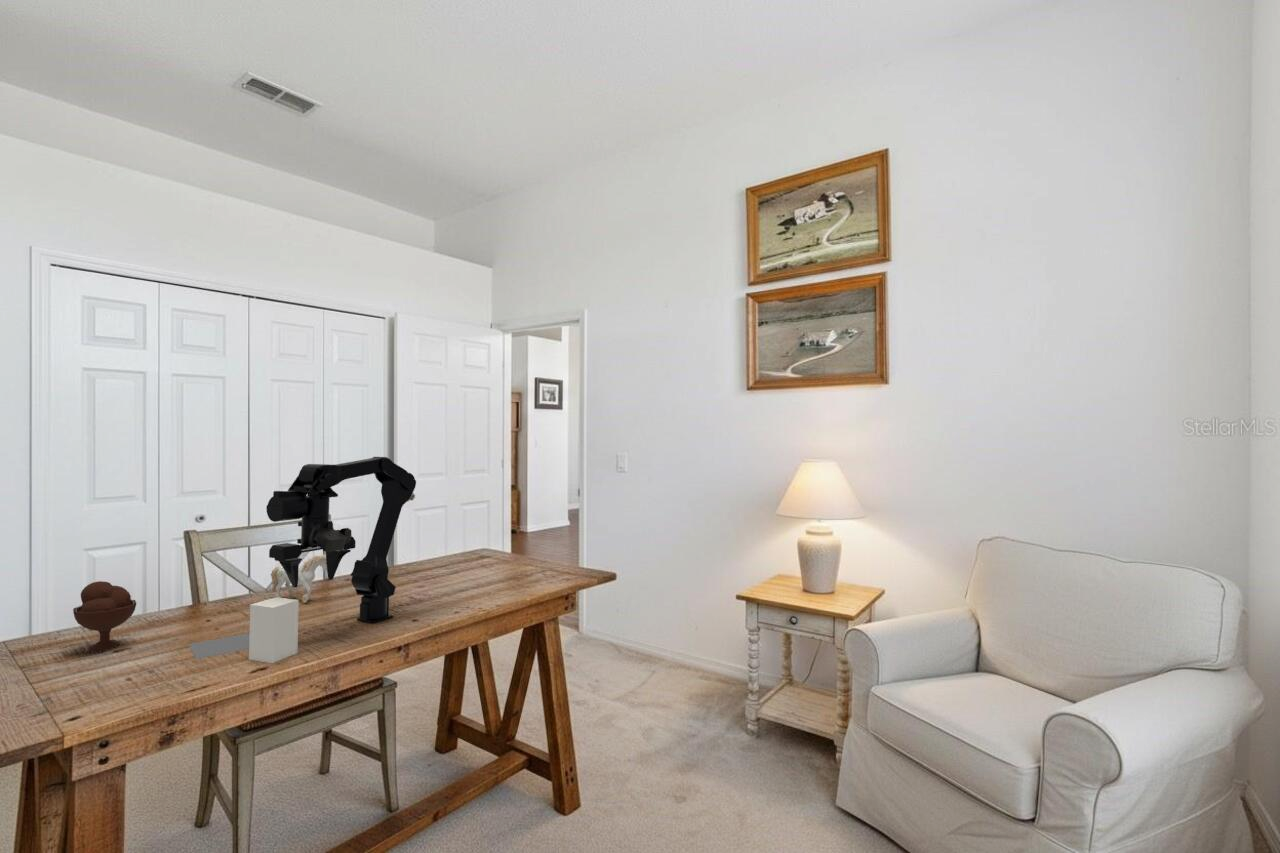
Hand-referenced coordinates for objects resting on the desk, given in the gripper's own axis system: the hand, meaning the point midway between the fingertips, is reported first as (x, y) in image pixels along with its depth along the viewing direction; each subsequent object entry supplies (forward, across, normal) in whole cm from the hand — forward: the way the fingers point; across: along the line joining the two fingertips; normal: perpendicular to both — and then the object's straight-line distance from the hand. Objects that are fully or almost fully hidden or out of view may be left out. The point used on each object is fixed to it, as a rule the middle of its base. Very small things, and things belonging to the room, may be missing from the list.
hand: (313, 583), depth 147 cm
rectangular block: (+13, -12, -4) cm, 18 cm away
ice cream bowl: (+14, -26, +34) cm, 45 cm away
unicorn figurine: (+13, +22, +33) cm, 42 cm away
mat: (+13, -13, +12) cm, 22 cm away
